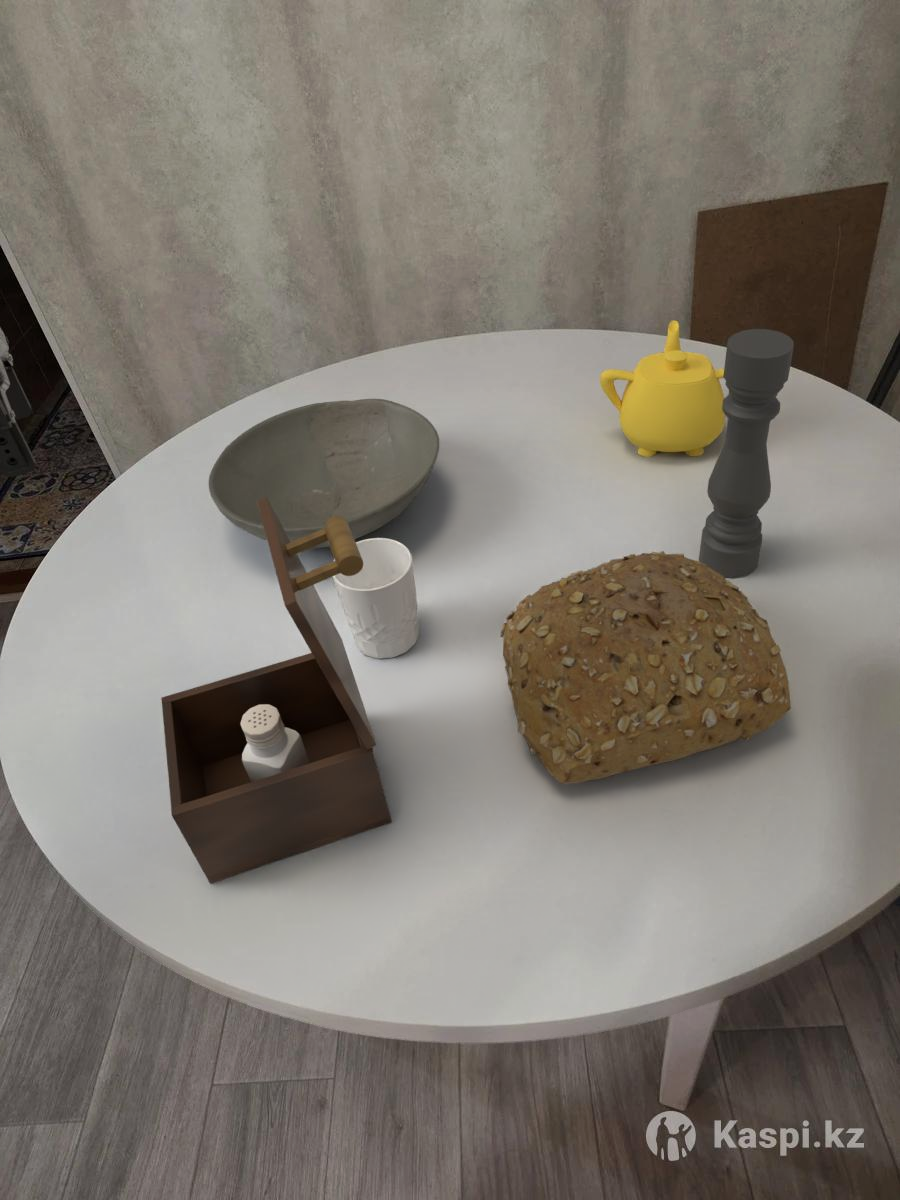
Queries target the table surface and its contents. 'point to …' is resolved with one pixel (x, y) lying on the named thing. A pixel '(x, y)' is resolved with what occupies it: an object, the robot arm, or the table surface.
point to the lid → (319, 603)
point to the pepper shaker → (270, 744)
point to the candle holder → (744, 450)
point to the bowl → (326, 467)
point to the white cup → (381, 599)
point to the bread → (639, 666)
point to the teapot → (669, 400)
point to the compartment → (279, 802)
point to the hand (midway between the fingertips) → (20, 443)
